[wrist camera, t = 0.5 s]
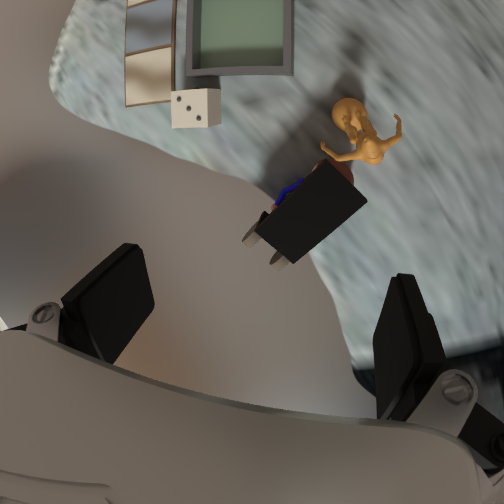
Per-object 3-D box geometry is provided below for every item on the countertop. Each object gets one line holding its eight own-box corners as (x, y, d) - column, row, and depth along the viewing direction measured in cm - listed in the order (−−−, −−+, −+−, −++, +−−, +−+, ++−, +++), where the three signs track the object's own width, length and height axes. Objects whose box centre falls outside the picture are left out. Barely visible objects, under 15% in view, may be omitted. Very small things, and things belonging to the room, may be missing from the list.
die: (185, 89, 32) (167, 89, 28) (221, 86, 31) (206, 85, 27) (186, 124, 35) (168, 128, 31) (221, 123, 34) (206, 127, 30)
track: (132, -32, 23) (130, -33, 22) (180, -47, 21) (178, -49, 21) (127, 107, 35) (124, 107, 34) (175, 101, 33) (173, 101, 33)
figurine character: (288, 249, 42) (367, 179, 32) (275, 283, 36) (370, 206, 27) (252, 219, 41) (326, 140, 32) (232, 248, 35) (320, 157, 26)
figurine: (372, 87, 27) (396, 80, 17) (392, 134, 29) (424, 152, 19) (308, 111, 30) (300, 116, 20) (330, 157, 33) (332, 184, 22)
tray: (197, -4, 25) (187, -10, 22) (293, -11, 23) (290, -20, 20) (196, 77, 31) (185, 76, 29) (293, 75, 29) (290, 73, 26)
